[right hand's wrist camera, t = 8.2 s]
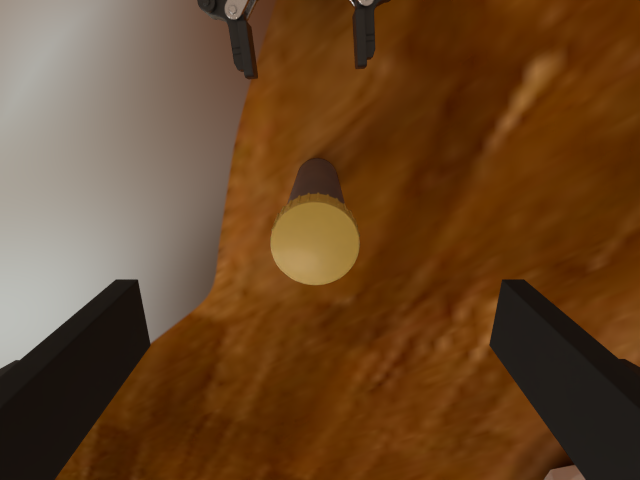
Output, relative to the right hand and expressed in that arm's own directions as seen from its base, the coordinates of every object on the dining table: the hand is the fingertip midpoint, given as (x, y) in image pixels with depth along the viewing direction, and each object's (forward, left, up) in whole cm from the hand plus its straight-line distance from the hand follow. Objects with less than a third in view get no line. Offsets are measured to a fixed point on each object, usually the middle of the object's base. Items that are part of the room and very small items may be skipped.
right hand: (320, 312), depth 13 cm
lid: (0, 0, -7) cm, 7 cm away
